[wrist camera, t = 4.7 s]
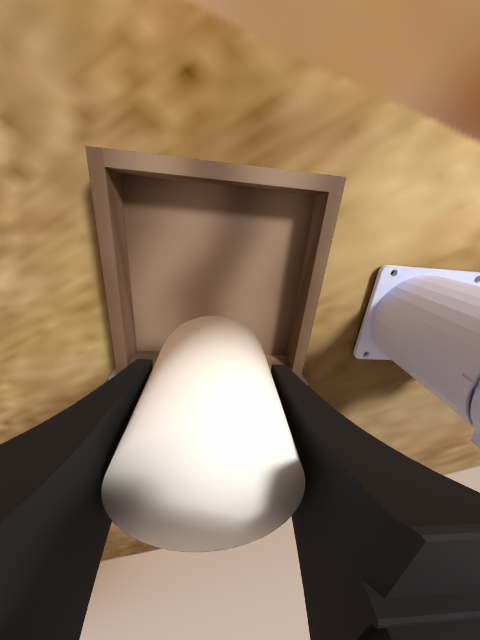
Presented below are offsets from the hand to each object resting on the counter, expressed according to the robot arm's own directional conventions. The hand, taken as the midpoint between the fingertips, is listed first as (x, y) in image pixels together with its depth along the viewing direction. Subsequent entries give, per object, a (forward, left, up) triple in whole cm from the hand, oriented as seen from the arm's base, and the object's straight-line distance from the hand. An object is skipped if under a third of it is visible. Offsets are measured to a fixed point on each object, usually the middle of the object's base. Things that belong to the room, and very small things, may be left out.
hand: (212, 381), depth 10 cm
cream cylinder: (0, 0, -1) cm, 1 cm away
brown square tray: (0, -2, -9) cm, 9 cm away
